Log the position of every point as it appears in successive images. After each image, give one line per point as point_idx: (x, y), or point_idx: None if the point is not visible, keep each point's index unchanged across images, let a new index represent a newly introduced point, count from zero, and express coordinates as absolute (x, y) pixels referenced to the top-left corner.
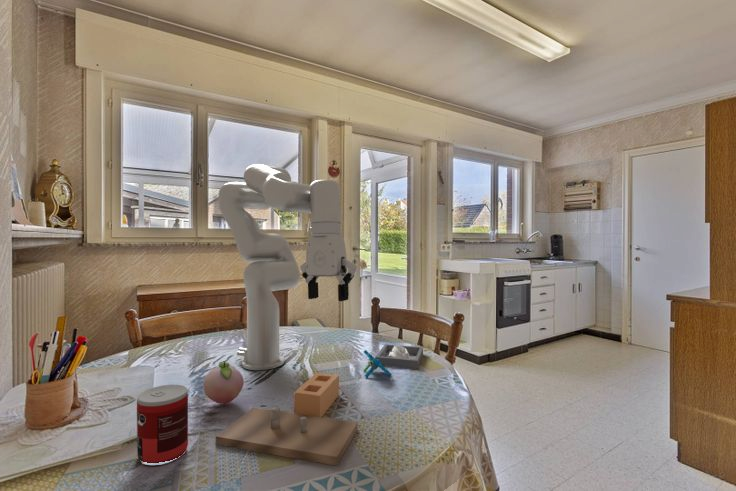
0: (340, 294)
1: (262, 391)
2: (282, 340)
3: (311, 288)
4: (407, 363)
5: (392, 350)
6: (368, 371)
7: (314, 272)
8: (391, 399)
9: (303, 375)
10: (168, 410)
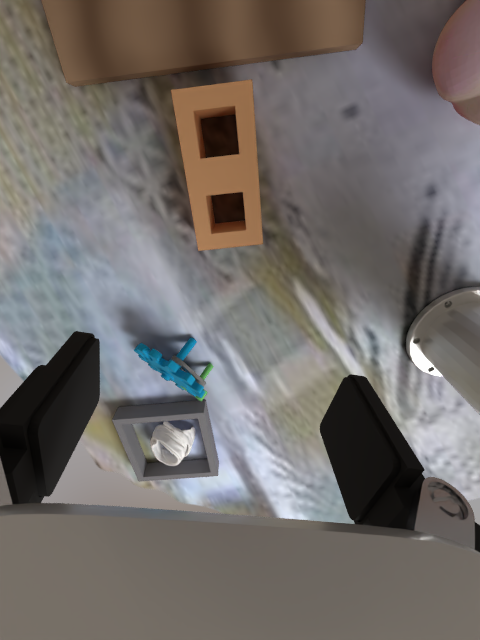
0: (54, 360)
1: (390, 188)
2: (461, 454)
3: (370, 438)
4: (136, 412)
5: (181, 446)
6: (186, 349)
7: (375, 583)
8: (91, 261)
9: (331, 305)
10: None
